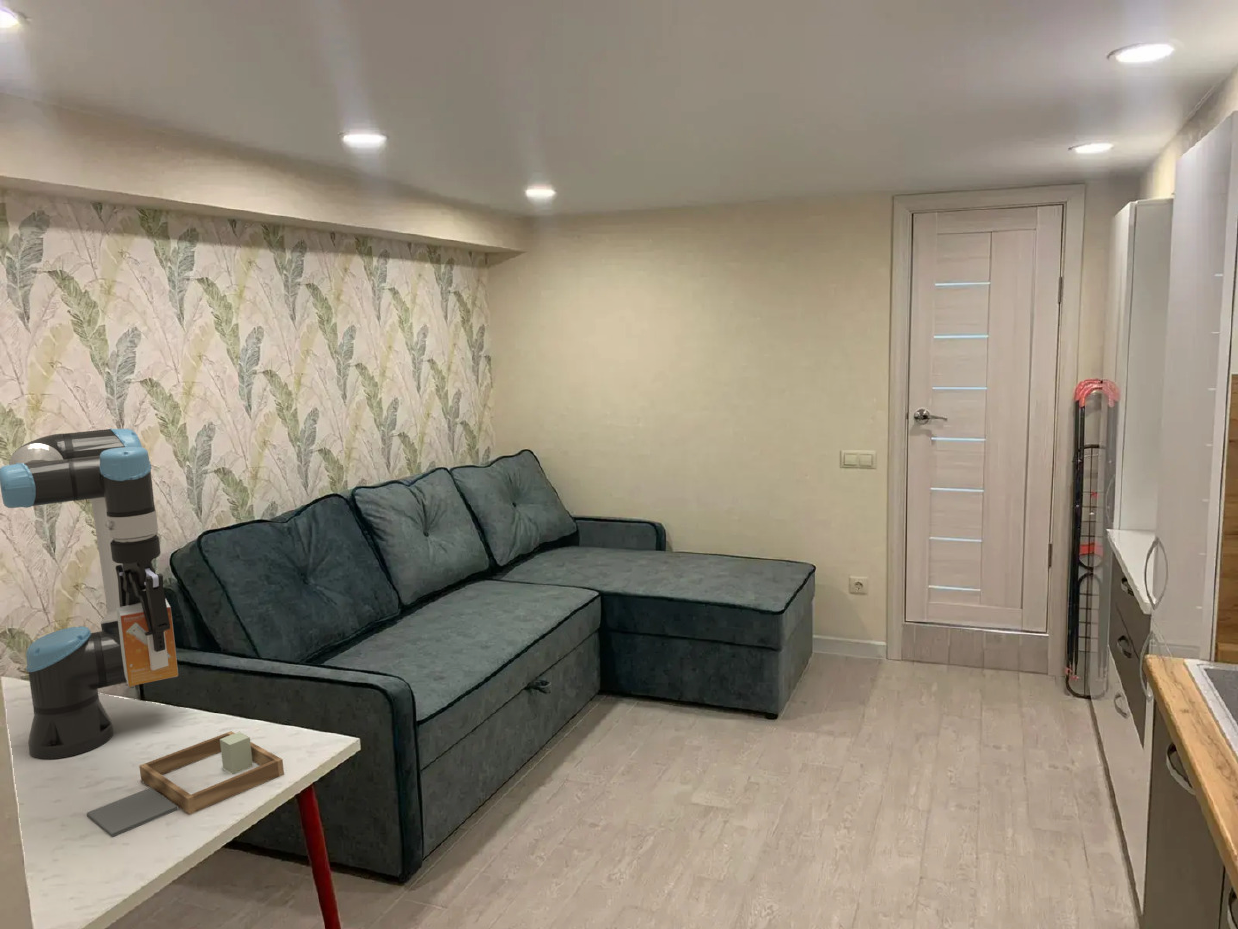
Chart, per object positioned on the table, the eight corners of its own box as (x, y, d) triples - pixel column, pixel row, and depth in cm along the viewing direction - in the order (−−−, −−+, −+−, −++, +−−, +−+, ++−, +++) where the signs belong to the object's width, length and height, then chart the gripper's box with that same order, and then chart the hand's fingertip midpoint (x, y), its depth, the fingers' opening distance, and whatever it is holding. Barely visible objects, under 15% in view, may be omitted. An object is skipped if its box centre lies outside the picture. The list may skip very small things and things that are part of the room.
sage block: (222, 768, 179) (219, 739, 178) (242, 760, 182) (239, 731, 181) (233, 774, 177) (229, 745, 176) (252, 766, 179) (249, 737, 178)
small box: (128, 688, 160) (119, 615, 157) (124, 677, 165) (115, 606, 163) (179, 676, 164) (171, 605, 162) (174, 666, 169) (165, 597, 167)
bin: (141, 780, 175) (139, 765, 175) (232, 745, 189) (231, 731, 188) (189, 814, 162) (187, 798, 162) (283, 774, 176) (282, 759, 175)
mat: (87, 816, 163) (86, 812, 163) (151, 790, 171) (150, 787, 171) (112, 837, 156) (111, 834, 156) (177, 809, 164) (177, 806, 164)
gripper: (88, 533, 164) (104, 656, 168) (136, 549, 151) (152, 682, 155) (132, 525, 170) (147, 644, 173) (182, 540, 156) (197, 668, 160)
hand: (149, 662), depth 164 cm, fingers closed on small box, 7 cm apart
